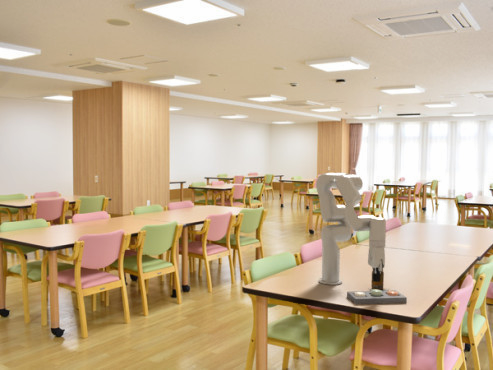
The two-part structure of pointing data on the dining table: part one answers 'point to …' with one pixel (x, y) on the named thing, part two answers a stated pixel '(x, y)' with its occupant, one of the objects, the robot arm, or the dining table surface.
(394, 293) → the button terracotta
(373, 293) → the button sage
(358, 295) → the button cream
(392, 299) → the panel
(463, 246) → the dining table surface
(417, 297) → the dining table surface
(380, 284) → the condiment
